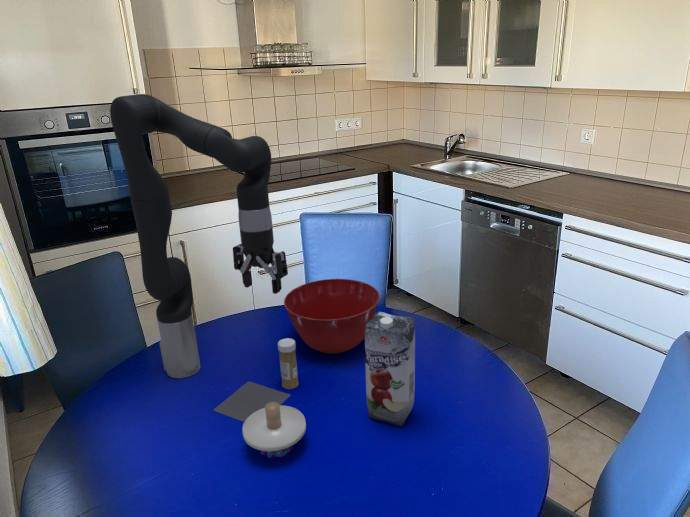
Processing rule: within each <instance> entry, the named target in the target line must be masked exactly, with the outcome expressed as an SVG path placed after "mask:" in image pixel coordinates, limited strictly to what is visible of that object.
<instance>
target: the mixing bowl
mask: <svg viewBox="0 0 690 517" xmlns="http://www.w3.org/2000/svg"><path fill="white" fill-rule="evenodd" d="M380 296H381V295H380V292H379V290H378V289H376V287H375V286H373V285H371V284H369V283H367V282H364V281H360V280H355V279H347V278H329V279H326V278H325V279H321V280H314V281H310V282H307V283H304V284H301V285H299V286H297V287H295V288H293V289H291V291H290V292H288V293H287V294H286V296H285V297H284V299H283V305H284V308H285V309H286V310H287V313H288V316H289V318H290V321H291V324H292V325H293V327H294V329H295V330H296V332H297V333H298V335H299V337H300V338H301V339H302V340H303V342H304V343H305V344H306V345H307V346H308V347H309V348H312V349H313V350H315V351H318V352H321V353H322V354H323V353H325V354H341V353H344V352H348V351H351V350H352V349H354V348H355V347H357V346H358V345H359V344H361V343H362V341H363V340H365V325H366V324H367V323H368V322H369V321H370V320H371V319H372V318H373V317H374V316H375V314H376V313H377V312H376V311H377V308H378V304H379V301H380Z"/></svg>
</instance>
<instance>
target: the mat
mask: <svg viewBox="0 0 690 517" xmlns="http://www.w3.org/2000/svg"><path fill="white" fill-rule="evenodd" d="M290 396H292V395H291V394H290V393H286V392H283V391H280V390H277V389H274V388H270V387H267V386H265V385H262V384H259V383H255V382H252V381H246V382H245V383H244V384H243V385H242V386H241V387H239V388H238V389H237V390H236V391H235V392H233V393H232V394H231V395H229V397H227V398H226V399H225V400H224V401H222V402H221V403H220V404H219V405H217V406H216V407H215V408H213V410H212V411H213V412H216V413H218V414H222V415H224V416H227V417H230V418H233V419H235V420H238V421H241V422H243V423H244V422H245V421H246V419H247V418H248V417H249V416H250V415H251V414H253V413H254V412H256V411H258V410H260V409H262V408H265V405H266V404H267V403H269V402H277V403H279V405H283V403H284V402H286V401H287V399H289V397H290Z"/></svg>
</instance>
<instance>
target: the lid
mask: <svg viewBox="0 0 690 517" xmlns="http://www.w3.org/2000/svg"><path fill="white" fill-rule="evenodd" d="M241 430H242V436H243V440H244V442H245V443H246V444H247V445H248V446H250V447H251V448H253V449H255V450H258V451H260V450H261V451H277V450H282V449H285V448H288V447H290V446H292V447H293V445H295V444H297V443H298V442H299V441H300V440H302V438H303V437H304V435H305V433H306V430H307V423H306V418H305V416H304V414H303V413H302V412H301V411H300V410H299V409H298V408H295V407H293V406H288V405H283V404H281V405H279V403H277V402H269V403H267V404H266V405H265V408H262V409H260V410H258V411H256V412H254V413H253V414H251V415H250V416H249V417H248V418H247V419H246V421H245V422H243V424H242V429H241Z"/></svg>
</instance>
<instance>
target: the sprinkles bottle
mask: <svg viewBox="0 0 690 517" xmlns="http://www.w3.org/2000/svg"><path fill="white" fill-rule="evenodd" d="M296 346H297V344H296V340H294V339H293V338H289V337H287V338H283V339H279V341H278V342H277V349H278V353H279V365H280V366H279V367H280V375H281V383H282V384H281V386H282V387H283V388H284V389H286V390H292V389H295V388H297V387H298V386H299V378H298V364H297V355H296Z"/></svg>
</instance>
